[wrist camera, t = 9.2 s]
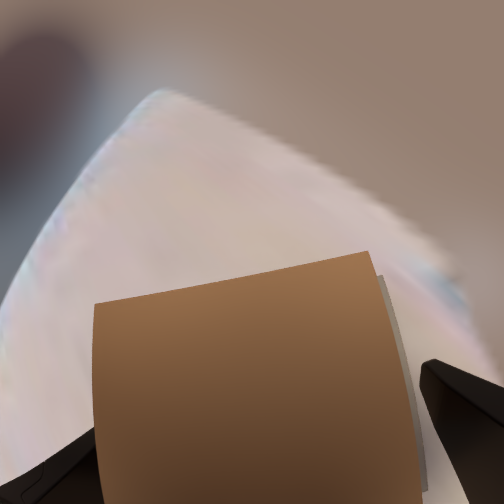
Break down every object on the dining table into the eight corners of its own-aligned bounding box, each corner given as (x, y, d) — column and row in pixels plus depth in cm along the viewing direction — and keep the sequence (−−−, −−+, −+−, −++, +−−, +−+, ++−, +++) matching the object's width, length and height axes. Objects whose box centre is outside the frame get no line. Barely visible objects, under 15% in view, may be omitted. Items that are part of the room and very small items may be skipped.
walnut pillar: (340, 444, 13) (424, 539, 2) (255, 458, 14) (117, 555, 2) (326, 366, 16) (368, 250, 4) (244, 381, 16) (94, 304, 5)
